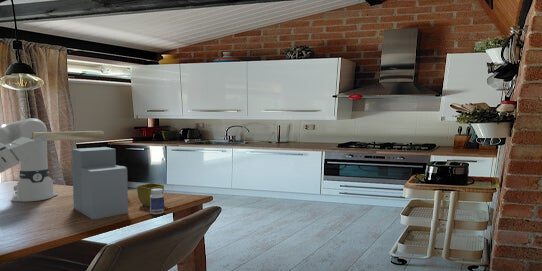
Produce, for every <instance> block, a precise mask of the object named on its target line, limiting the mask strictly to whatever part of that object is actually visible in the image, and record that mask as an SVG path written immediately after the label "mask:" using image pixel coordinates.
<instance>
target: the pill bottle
mask: <svg viewBox="0 0 542 271" xmlns="http://www.w3.org/2000/svg"><path fill="white" fill-rule="evenodd" d="M162 192H163V194H162ZM151 193H152V194H151V195H150V206H149V213H150V214H151V215H160V214H163V213H164V212H165V195H164V191H163V189H159V188H158V189H152V190H151Z"/></svg>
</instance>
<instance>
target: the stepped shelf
mask: <svg viewBox="0 0 542 271" xmlns="http://www.w3.org/2000/svg"><path fill="white" fill-rule="evenodd" d="M116 154H117V153H116V148H111V147H107V146H101V147H85V148H71V156H72V158H71V160H72V163H71V164H72V191H73V194H72V195H73V209H75V210H76V211H77V212H79V213H82V214H83V215H84V216H85V217H86V216H87V217H88V218H89V219H91V220H98V219H104V218H107V217H114V216H119V215H120V216H121V215H124V214H128V213H129V195H128V191H129V190H128V188H129V186H128V167H122V166H123V165H117V162H116V161H117V160H116V158H117V157H116V156H117V155H116Z"/></svg>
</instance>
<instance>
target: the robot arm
mask: <svg viewBox="0 0 542 271" xmlns="http://www.w3.org/2000/svg"><path fill="white" fill-rule="evenodd" d="M32 132H48V129H47V126H46V123H45V122H43V121H42V120H40V119H39V118H34V117H33V118H31V117H30V118H25V119H21V120H17V121H13V122H9V123H5V124H0V173H4V172H6V171H7V170H9V169H11V168H13V167H16V166H18V165H19V164H20V170H19V174H18V175H19V180H18V181H17V183H16V184H15V185H14V186H13V191H15V192H14V193H13V194H12V197H11V202H36V201H43V200H48V199H51V198H53V197H57V196H58V193H57V192H55V189H54V181H53V179H52V178H51V177H50V169H49V168H48V167H49V165H48V162H49V161H48V141H43V140H44V139H46V138H47V136H46V135H45V134H42V135H40V136H39V137H37V138H34V139H32Z"/></svg>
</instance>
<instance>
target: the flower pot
mask: <svg viewBox="0 0 542 271" xmlns="http://www.w3.org/2000/svg"><path fill="white" fill-rule="evenodd" d="M158 188H159V189H163V192H162V194H163V195H164V190H165V185H164V184H161V183H160V184H159V183H152V182H150V183H144V184H141V185H137V186H136V190H137V196H138V200H139V202H140V203H141V205H142V206H147V207H150V195H151V194H152V193H151V190H152V189H158Z"/></svg>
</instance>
